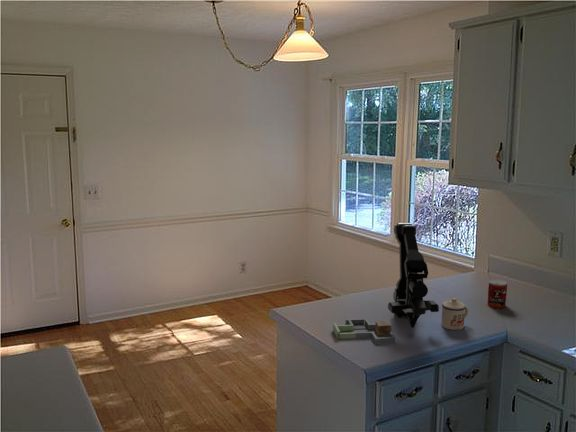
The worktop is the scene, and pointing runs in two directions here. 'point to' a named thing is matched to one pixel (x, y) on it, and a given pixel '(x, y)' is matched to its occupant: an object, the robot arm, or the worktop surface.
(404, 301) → the robot arm
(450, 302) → the teacup with lid
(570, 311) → the worktop surface
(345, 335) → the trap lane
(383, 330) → the walnut block
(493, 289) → the canned food
